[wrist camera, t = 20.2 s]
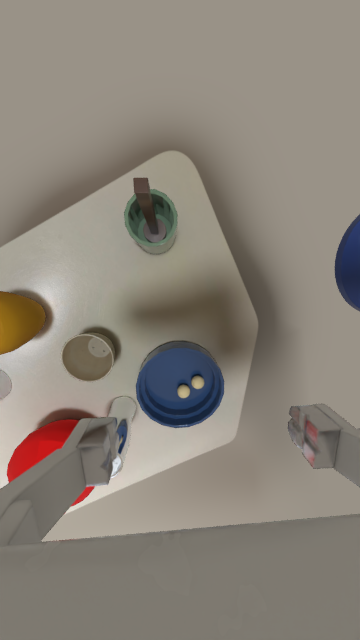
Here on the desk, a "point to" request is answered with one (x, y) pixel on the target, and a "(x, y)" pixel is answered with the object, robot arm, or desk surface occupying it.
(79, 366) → the flower pot
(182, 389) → the dumpling
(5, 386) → the mug
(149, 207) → the brown disc-ended rod
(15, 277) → the desk surface
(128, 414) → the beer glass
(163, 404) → the bowl
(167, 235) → the crock
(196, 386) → the dumpling
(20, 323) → the apple
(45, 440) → the vase
